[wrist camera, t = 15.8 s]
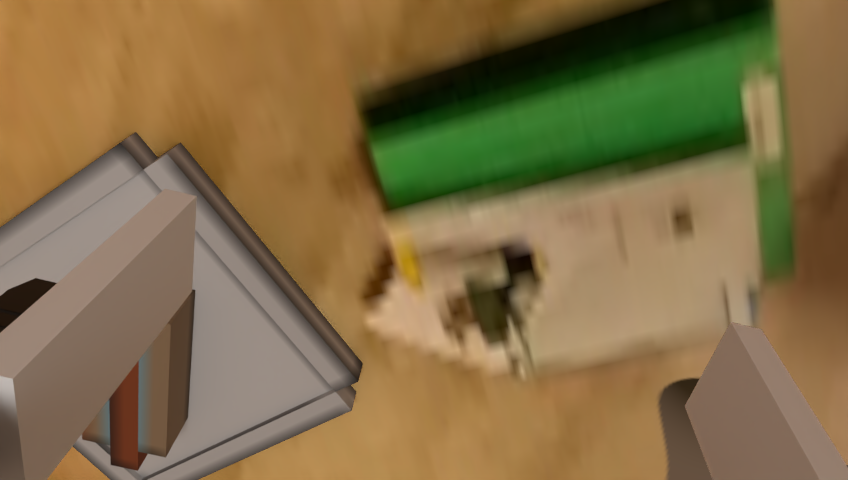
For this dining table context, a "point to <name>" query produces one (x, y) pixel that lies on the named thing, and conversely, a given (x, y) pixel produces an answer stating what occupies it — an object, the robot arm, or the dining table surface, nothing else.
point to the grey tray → (190, 326)
